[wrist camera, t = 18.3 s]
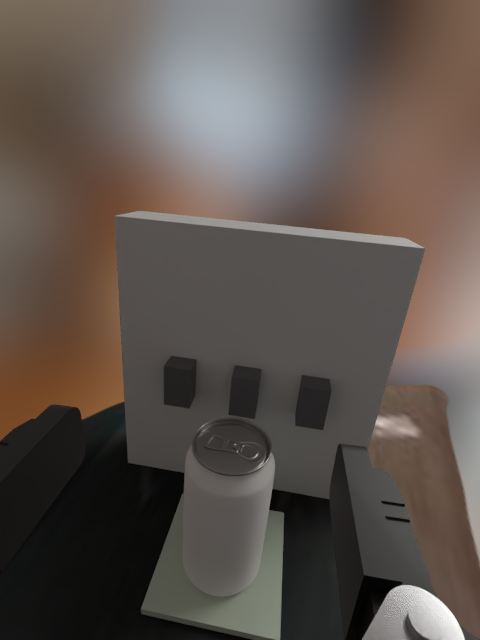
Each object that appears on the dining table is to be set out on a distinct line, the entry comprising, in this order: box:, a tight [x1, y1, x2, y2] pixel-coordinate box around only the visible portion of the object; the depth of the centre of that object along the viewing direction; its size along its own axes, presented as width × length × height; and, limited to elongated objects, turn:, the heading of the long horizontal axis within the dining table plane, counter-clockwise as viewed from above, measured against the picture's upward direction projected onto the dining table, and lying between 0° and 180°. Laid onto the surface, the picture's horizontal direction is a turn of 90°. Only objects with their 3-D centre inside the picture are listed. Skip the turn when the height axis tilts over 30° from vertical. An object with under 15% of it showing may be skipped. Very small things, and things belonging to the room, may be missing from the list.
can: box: [182, 417, 275, 596], centre depth 26 cm, size 6×6×12 cm
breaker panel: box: [115, 211, 425, 499], centre depth 33 cm, size 7×24×26 cm, turn 82°
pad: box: [141, 494, 284, 640], centre depth 29 cm, size 10×10×1 cm
